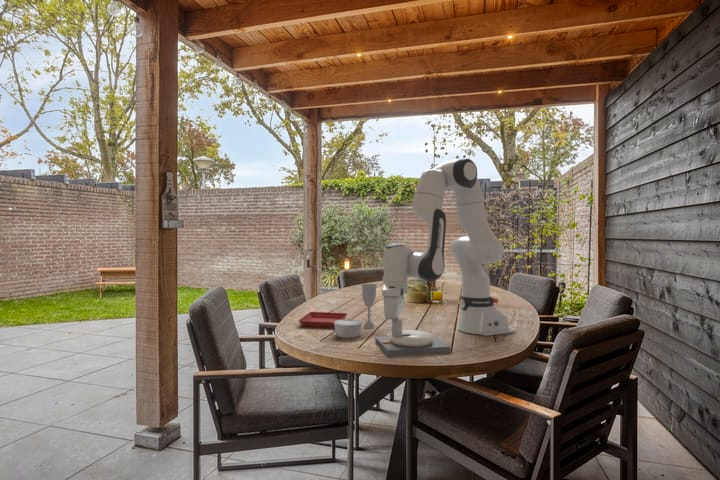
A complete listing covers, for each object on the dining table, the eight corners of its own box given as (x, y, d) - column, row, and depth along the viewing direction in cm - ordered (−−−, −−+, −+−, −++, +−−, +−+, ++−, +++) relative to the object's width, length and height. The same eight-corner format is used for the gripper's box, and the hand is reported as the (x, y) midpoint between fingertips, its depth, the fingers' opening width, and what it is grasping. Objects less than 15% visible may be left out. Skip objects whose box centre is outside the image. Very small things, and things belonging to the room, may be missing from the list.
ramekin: (358, 330, 169) (358, 318, 169) (365, 338, 158) (365, 324, 158) (331, 332, 166) (331, 319, 166) (336, 339, 156) (336, 325, 155)
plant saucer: (339, 329, 172) (339, 321, 172) (297, 327, 175) (297, 320, 175) (348, 320, 190) (347, 313, 190) (310, 318, 193) (310, 311, 193)
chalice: (375, 329, 171) (375, 286, 171) (359, 328, 172) (359, 285, 172) (378, 325, 178) (378, 284, 178) (362, 324, 180) (362, 283, 179)
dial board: (431, 339, 156) (431, 332, 156) (450, 352, 139) (450, 344, 139) (375, 342, 152) (375, 335, 152) (387, 356, 135) (387, 348, 135)
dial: (420, 333, 155) (420, 312, 155) (440, 344, 141) (440, 321, 140) (383, 337, 150) (383, 315, 150) (400, 348, 136) (400, 324, 136)
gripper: (391, 284, 158) (391, 319, 158) (380, 292, 138) (380, 333, 138) (407, 284, 156) (407, 320, 156) (399, 292, 136) (399, 334, 137)
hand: (394, 326), depth 147 cm, fingers closed
